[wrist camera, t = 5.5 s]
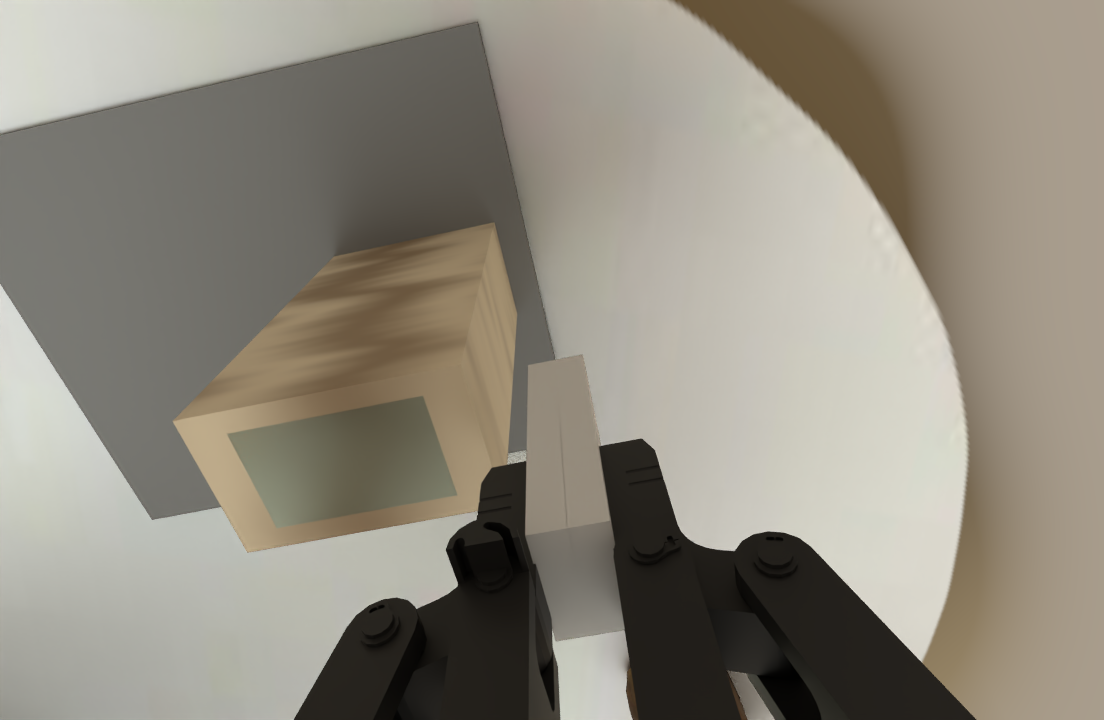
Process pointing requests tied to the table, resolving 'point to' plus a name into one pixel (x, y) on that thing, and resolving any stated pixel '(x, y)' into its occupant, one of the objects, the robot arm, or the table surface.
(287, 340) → the beech block
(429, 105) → the rubber mat
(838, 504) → the table surface
